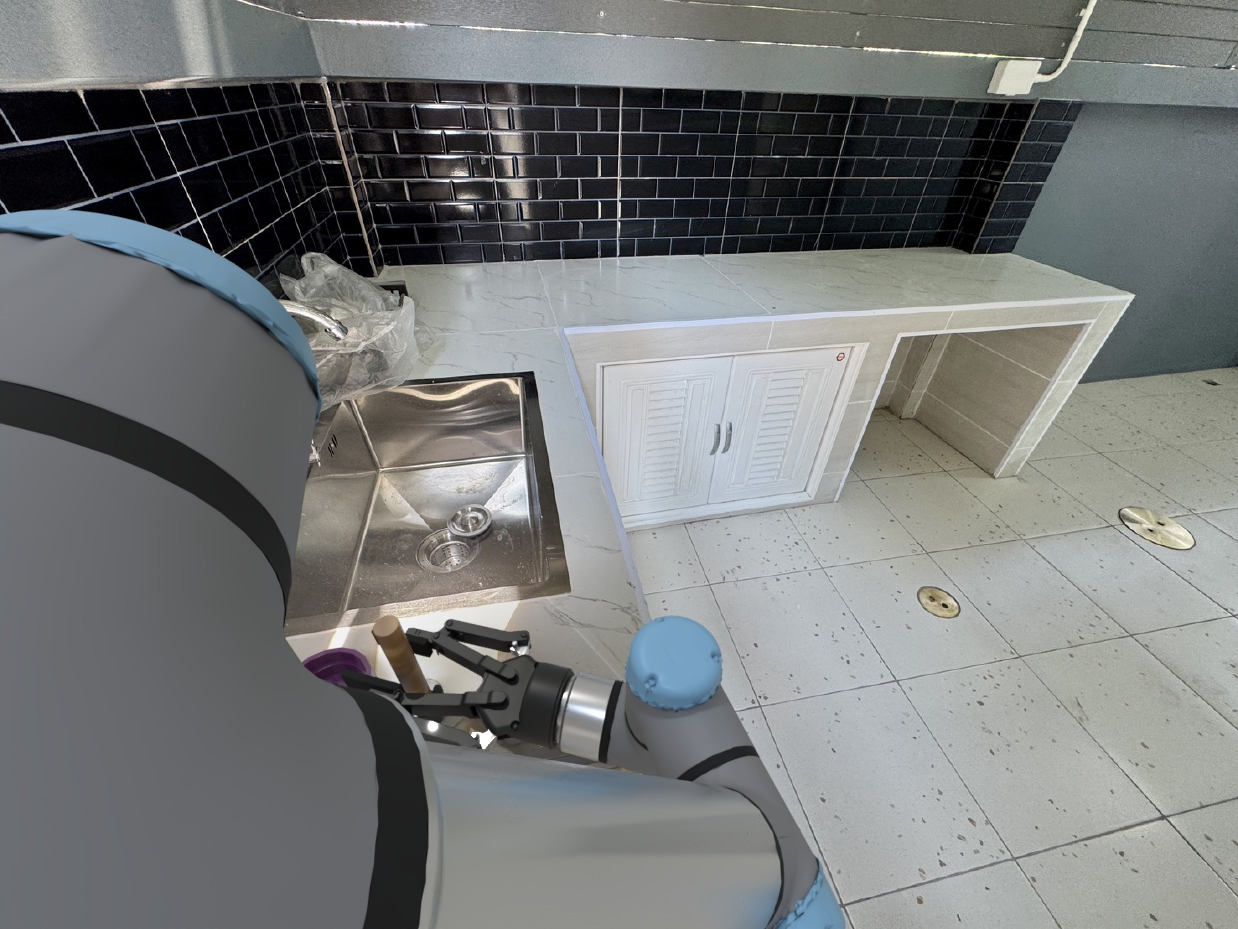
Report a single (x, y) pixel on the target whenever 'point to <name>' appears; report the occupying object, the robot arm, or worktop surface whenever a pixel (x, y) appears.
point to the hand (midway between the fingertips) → (362, 656)
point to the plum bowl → (337, 664)
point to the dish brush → (404, 660)
